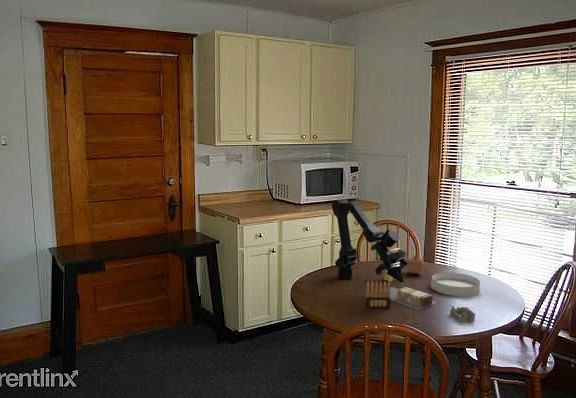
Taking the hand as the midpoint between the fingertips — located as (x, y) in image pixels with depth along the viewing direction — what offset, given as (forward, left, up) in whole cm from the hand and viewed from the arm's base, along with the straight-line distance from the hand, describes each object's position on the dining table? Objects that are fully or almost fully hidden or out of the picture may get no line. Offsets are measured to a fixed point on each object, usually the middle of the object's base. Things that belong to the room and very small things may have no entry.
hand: (402, 282), depth 234 cm
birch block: (0, 0, -5) cm, 5 cm away
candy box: (-2, +26, -7) cm, 27 cm away
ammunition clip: (-12, -14, -7) cm, 20 cm away
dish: (+26, +16, -8) cm, 32 cm away
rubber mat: (+1, -1, -7) cm, 7 cm away
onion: (+10, +37, -7) cm, 39 cm away
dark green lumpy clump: (+22, -20, -8) cm, 31 cm away
